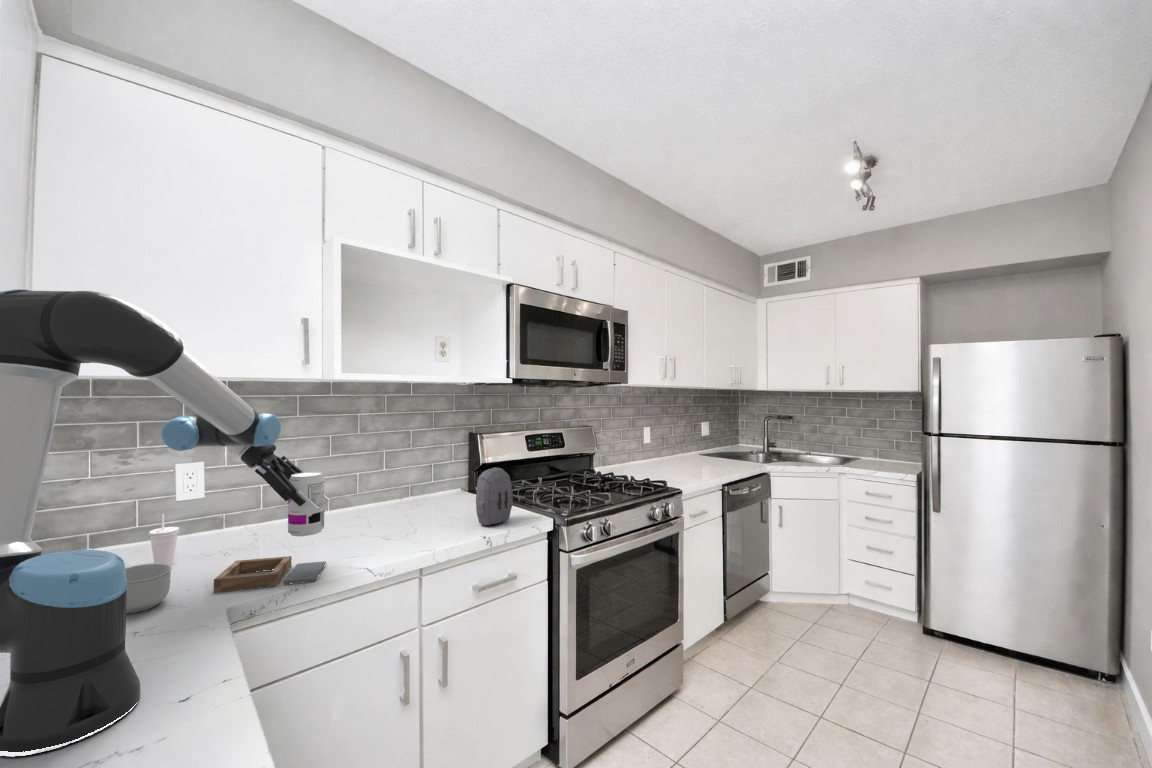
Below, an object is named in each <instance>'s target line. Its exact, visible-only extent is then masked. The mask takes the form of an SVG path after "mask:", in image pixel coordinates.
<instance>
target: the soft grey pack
mask: <svg viewBox="0 0 1152 768" xmlns="http://www.w3.org/2000/svg"><path fill="white" fill-rule="evenodd" d="M513 499H514V496H513V483H512V481H511V476H510V474H509V473H508V472H506V471H505V470H504V469H503V468H501V467H492V468H488V469H487V470H484V471H482V472H481V474H479V476H478V478H477V483H476V495H475V509H476V510H475V511H476V512H475V513H476V516H477V519H478V523H479V524H480V525H482V524H483V526H492V525H491V524H495V525H498V524H497V523H499V524H502V523H504V522H507V521H508V520H510V517H511V510H512V508H513ZM501 522H502V523H501Z"/></svg>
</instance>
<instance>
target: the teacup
mask: <svg viewBox="0 0 1152 768" xmlns="http://www.w3.org/2000/svg"><path fill="white" fill-rule="evenodd" d="M172 568H173V567H172V565H171V566H170V565H168V564H163V563H154V562H153V563H144V564H143V563H142V564H136V565H131V566H127V567H126V566H125V572H126V578H127V583H128V585H127V596H126V614H135V613H136V614H137V613H141V612H144V611H147V610H149V609H152V608H154V607H156V606H157V605H159V604H160V603H161V602H162V601H163V600H164V599H165V598H166V597H167V596H168V594H169V592H170V588H171V574H172V573H171V572H172Z"/></svg>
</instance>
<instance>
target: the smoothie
mask: <svg viewBox="0 0 1152 768" xmlns="http://www.w3.org/2000/svg"><path fill="white" fill-rule="evenodd" d="M179 532H180V527H179V526H165V514H164V513H162V514H161V527H160V528H155V529H151V530H150V531H148V535H147V536H148V537H149V538H150V544H151V551H152V557H153V563H163V564H168V565H170V566H171V567H172V566H173V565H174V560H175V553H176V547H177V540H178V533H179Z"/></svg>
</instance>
